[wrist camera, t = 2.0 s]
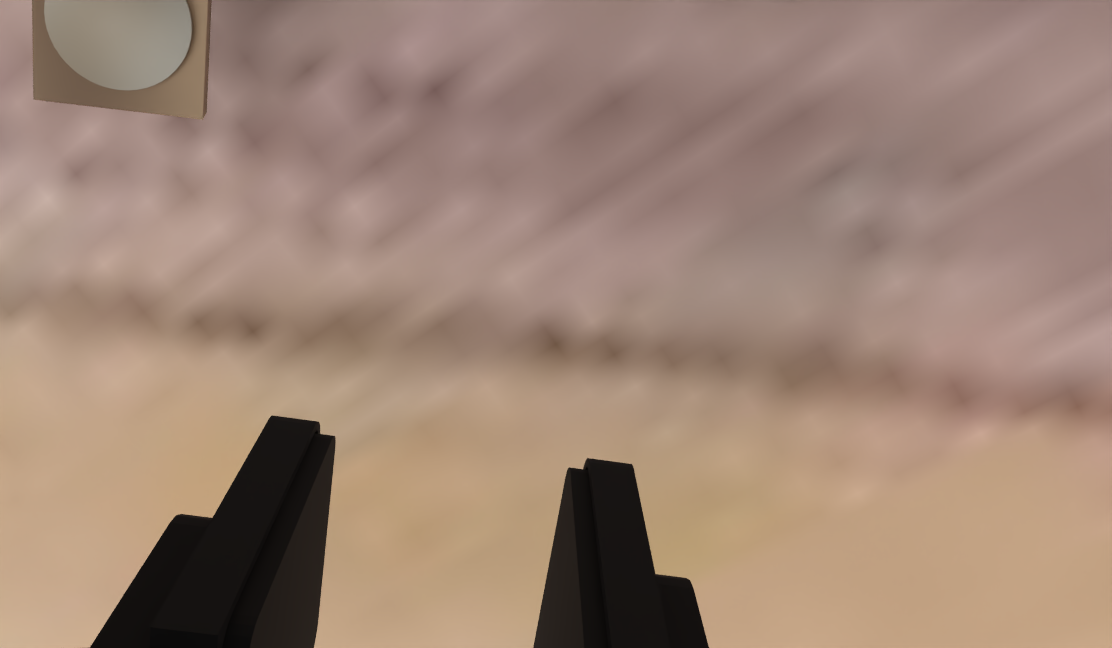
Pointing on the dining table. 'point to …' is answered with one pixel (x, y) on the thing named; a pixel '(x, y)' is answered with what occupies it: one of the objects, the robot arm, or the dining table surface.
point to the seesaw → (123, 54)
